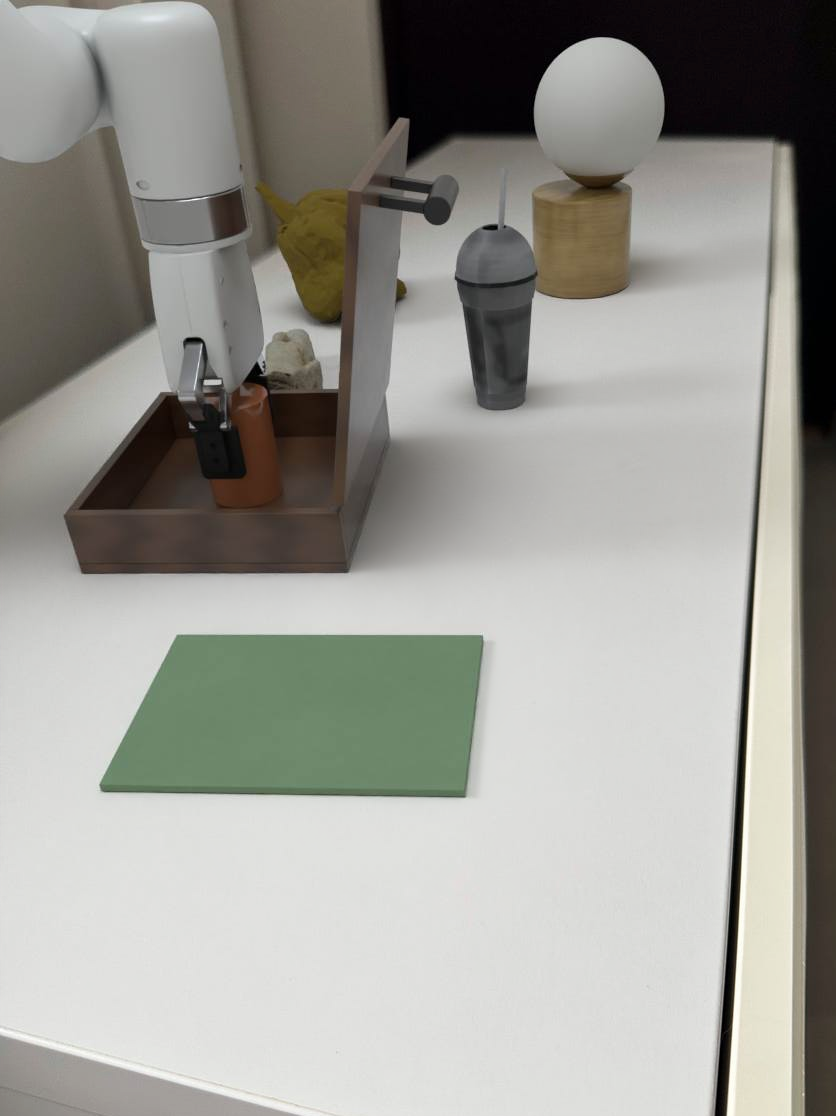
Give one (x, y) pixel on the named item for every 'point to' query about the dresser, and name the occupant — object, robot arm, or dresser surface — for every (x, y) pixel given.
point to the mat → (305, 716)
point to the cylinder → (251, 451)
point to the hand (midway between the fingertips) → (241, 449)
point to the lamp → (591, 164)
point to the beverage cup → (497, 308)
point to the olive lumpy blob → (315, 247)
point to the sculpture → (292, 362)
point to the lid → (375, 290)
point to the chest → (212, 529)
